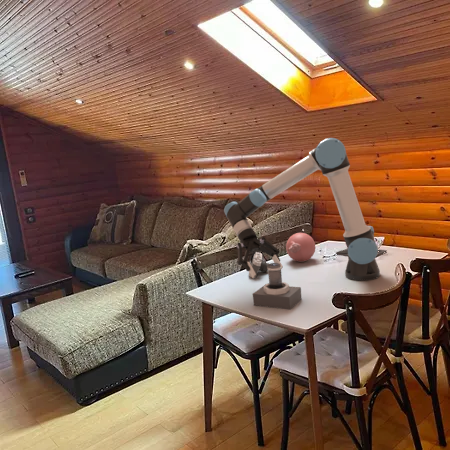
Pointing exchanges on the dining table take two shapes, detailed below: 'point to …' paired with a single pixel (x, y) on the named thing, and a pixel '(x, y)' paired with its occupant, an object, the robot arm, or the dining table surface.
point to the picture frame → (345, 252)
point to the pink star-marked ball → (300, 247)
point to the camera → (258, 264)
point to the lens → (275, 275)
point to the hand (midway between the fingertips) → (268, 272)
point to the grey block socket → (277, 296)
